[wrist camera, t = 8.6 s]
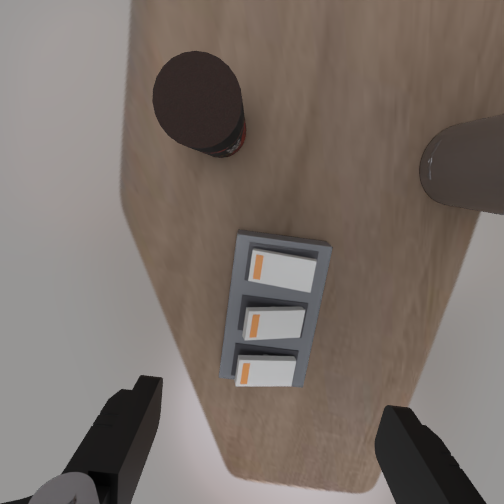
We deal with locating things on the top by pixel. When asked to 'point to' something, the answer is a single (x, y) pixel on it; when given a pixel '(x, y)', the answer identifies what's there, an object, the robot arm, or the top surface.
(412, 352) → the top surface
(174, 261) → the top surface
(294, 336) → the rocker
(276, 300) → the rocker switch panel
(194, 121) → the deodorant
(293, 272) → the rocker
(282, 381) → the rocker
